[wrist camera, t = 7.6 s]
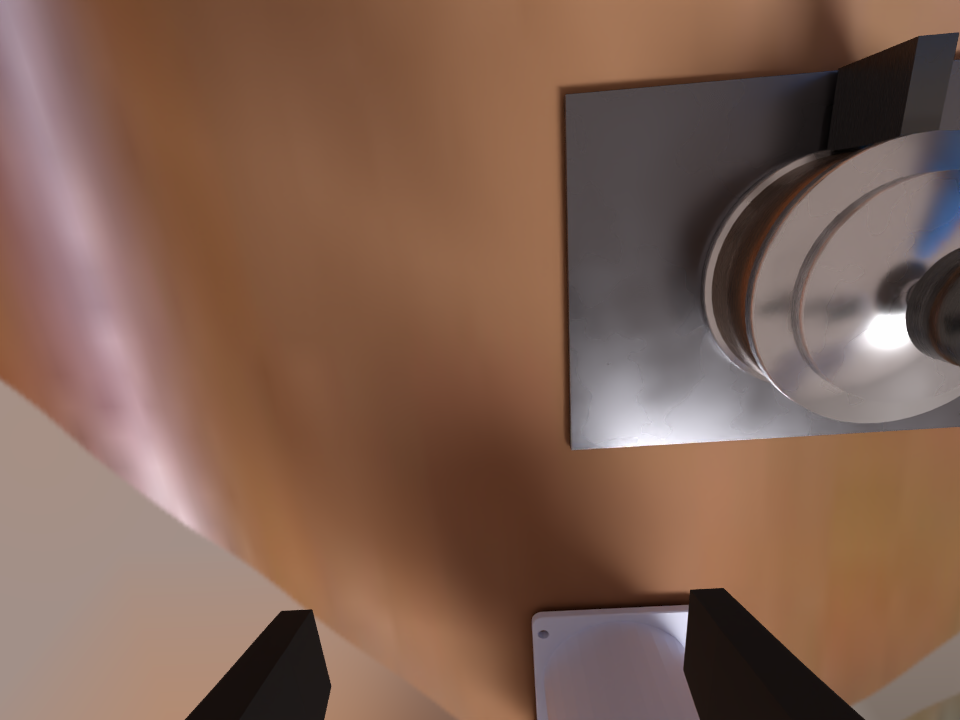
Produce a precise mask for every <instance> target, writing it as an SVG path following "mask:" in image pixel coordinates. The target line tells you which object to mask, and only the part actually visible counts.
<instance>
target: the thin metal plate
mask: <svg viewBox="0 0 960 720" xmlns="http://www.w3.org/2000/svg"><path fill="white" fill-rule="evenodd" d="M958 37H959V33H948V34H937V35H926V36H918V37H915V38H913V39H911V40H908V41H906V42H903V43H901V44H898V45H896V46H893V47H891V48H888V49H886V50H884V51H881V52H879V53H876V54H874V55H871V56H869V57H866V58H864V59H861V60H859V61H857V62H854V63H852V64H849V65H847V66H844V67H842V68H839V69H838V70H836V71H825V72H814V73H803V74H791V75H780V76H769V77H757V78H746V79H735V80H724V81H712V82H701V83H690V84H679V85H667V86H656V87H645V88H634V89H622V90H611V91H600V92H588V93H577V94H566V95H565V96H564V118H565V176H566V234H567V293H568V351H569V409H570V448H571V450H582V449H598V448H615V447H632V446H648V445H665V444H681V443H698V442H714V441H731V440H748V439H764V438H781V437H797V436H814V435H831V434H847V433H864V432H880V431H897V430H913V429H930V428H947V427H960V386H958V387H956V388H954V389H952V390H949V391H947V392H945V393H942V394H939V395H936V396H933V397H930V398H926V399H921V400H917V401H910V402H901V403H885V402H877V401H871V400H867V399H863V398H859V397H857V396H854V395H852V394H850V393H847V392H845V391H843V390H841V389H839V388H837V387H835V386H833V385H831V384H830V383H828V382H827V381H825V380H823V379H822V378H821V377H819V376H818V375H817V374H816V373H815V372H814V371H813V370H812V369H811V368H810V367H809V366H808V365H807V363H806V362H805V361H804V359H803V357H802V356H801V354H800V352H799V350H798V348H797V345H796V343H795V340H794V336H793V331H792V327H791V300H792V295H793V290H794V285H795V282H796V279H797V276H798V273H799V270H800V268H801V266H802V264H803V262H804V259H805V257H806V255H807V254H808V252H809V250H810V249H811V247H812V245H813V244H814V242H815V241H816V240H817V238H818V237H819V236H820V234H821V233H822V232H823V230H824V229H825V228H826V227H827V226H828V225H829V224H830V223H831V222H832V221H833V219H834V218H835V217H836V216H837V215H838V214H840V213H841V212H842V211H843V210H844V209H845V208H847V207H848V206H849V205H850V204H851V203H853V202H854V201H856V200H857V199H859V198H860V197H862V196H863V195H864V194H866V193H868V192H870V191H871V190H873V189H875V188H877V187H879V186H881V185H883V184H885V183H888V182H890V181H893V180H895V179H898V178H901V177H905V176H908V175H912V174H917V173H924V172H930V171H941V170H952V169H960V60H954V56H955V51H956V46H957V41H958Z"/></svg>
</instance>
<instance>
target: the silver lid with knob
mask: <svg viewBox="0 0 960 720" xmlns="http://www.w3.org/2000/svg"><path fill="white" fill-rule="evenodd" d="M791 327H792V331H793V336H794V340H795V343H796V345H797V348H798V350H799V352H800V354H801V356H802V357H803V359H804V361H805V362H806V363H807V365H808V366H809V367H810V368H811V369H812V370H813V371H814V372H815V373H816V374H817V375H818V376H819V377H821V378H822V379H823V380H825V381H827V382H828V383H830V384H831V385H833V386H835V387H837V388H839V389H841V390H843V391H845V392H847V393H850V394H852V395H854V396H857V397H859V398H863V399H867V400H871V401H877V402H885V403H901V402H910V401H917V400H921V399H926V398H930V397H933V396H936V395H939V394H942V393H945V392H947V391H949V390H952V389H954V388H956V387H958V386H960V169H952V170H941V171H930V172H924V173H917V174H912V175H908V176H905V177H901V178H898V179H895V180H893V181H890V182H888V183H885V184H883V185H881V186H879V187H877V188H875V189H873V190H871V191H870V192H868V193H866V194H864V195H863V196H862V197H860V198H859V199H857V200H856V201H854V202H853V203H851V204H850V205H849V206H848V207H847V208H845V209H844V210H843V211H842V212H841V213H840V214H838V215H837V216H836V217H835V218H834V219H833V221H832V222H831V223H830V224H829V225H828V226H827V227H826V228H825V229H824V230H823V232H822V233H821V234H820V236H819V237H818V238H817V240H816V241H815V242H814V244H813V245H812V247H811V249H810V250H809V252H808V254H807V255H806V257H805V259H804V262H803V264H802V266H801V268H800V270H799V273H798V276H797V279H796V282H795V285H794V290H793V295H792V300H791Z"/></svg>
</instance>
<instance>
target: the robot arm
mask: <svg viewBox="0 0 960 720" xmlns="http://www.w3.org/2000/svg"><path fill="white" fill-rule="evenodd" d="M542 630H545V631H543V632H542ZM532 636H533V655H534V674H535V692H536V711H537V720H865V719H864V718H863V717H861V716H860V715H859V714H858V713H857V712H856V711H855V710H854V709H853V708H851V707H850V706H849V705H848V704H847V703H846V702H845V701H844V700H843V699H841V698H840V697H839V696H838V695H837V694H836V693H835V692H834V691H833V690H831V689H830V688H829V687H828V686H827V685H826V684H825V683H824V682H823V681H821V680H820V679H819V678H818V677H817V676H816V675H815V674H814V673H813V672H812V671H811V670H809V669H808V668H807V667H806V666H805V665H804V664H803V663H802V662H801V661H800V660H799V659H798V658H797V657H796V656H794V655H793V654H792V653H791V652H790V651H789V650H788V649H787V648H786V647H785V646H784V645H783V644H782V643H781V642H780V641H779V640H777V639H776V638H775V637H774V636H773V635H772V634H771V633H770V632H769V631H768V630H767V629H766V628H765V627H764V626H763V625H762V624H761V623H760V622H759V621H758V620H756V619H755V618H754V617H753V616H752V615H751V614H750V613H749V612H748V611H747V610H746V609H745V608H744V607H743V606H742V605H741V604H740V603H739V602H738V601H737V600H736V599H734V598H733V597H732V596H731V595H730V594H729V593H728V592H727V591H726V590H725V589H724V588H716V589H696V590H690V598H689V605H674V606H653V607H632V608H611V609H590V610H569V611H548V612H538V613H536V614H535V615H534V616H533V617H532ZM330 690H331V683H330V679H329V675H328V671H327V667H326V663H325V659H324V655H323V651H322V647H321V643H320V639H319V635H318V631H317V627H316V623H315V619H314V615H313V611H312V609H311V610H292V611H281V612H280V613H279V614H278V615H277V616H276V617H275V619H274V620H273V621H272V622H271V623H270V624H269V625H268V626H267V627H266V629H265V630H264V631H263V632H262V633H261V634H260V635H259V637H258V638H257V639H256V640H255V641H254V642H253V643H252V645H251V646H250V647H249V648H248V649H247V650H246V651H245V653H244V654H243V655H242V656H241V657H240V658H239V659H238V661H237V662H236V663H235V664H234V665H233V666H232V667H231V669H230V670H229V671H228V672H227V673H226V674H225V675H224V677H223V678H222V679H221V680H220V681H219V682H218V683H217V685H216V686H215V687H214V688H213V689H212V690H211V691H210V692H209V693H208V695H207V696H206V697H205V698H204V699H203V700H202V701H201V702H200V703H199V705H198V706H197V707H196V708H195V709H194V710H193V711H192V712H191V714H189V716H188V717H187V718H186V719H185V720H324V718H325V713H326V708H327V704H328V699H329V695H330Z"/></svg>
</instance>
